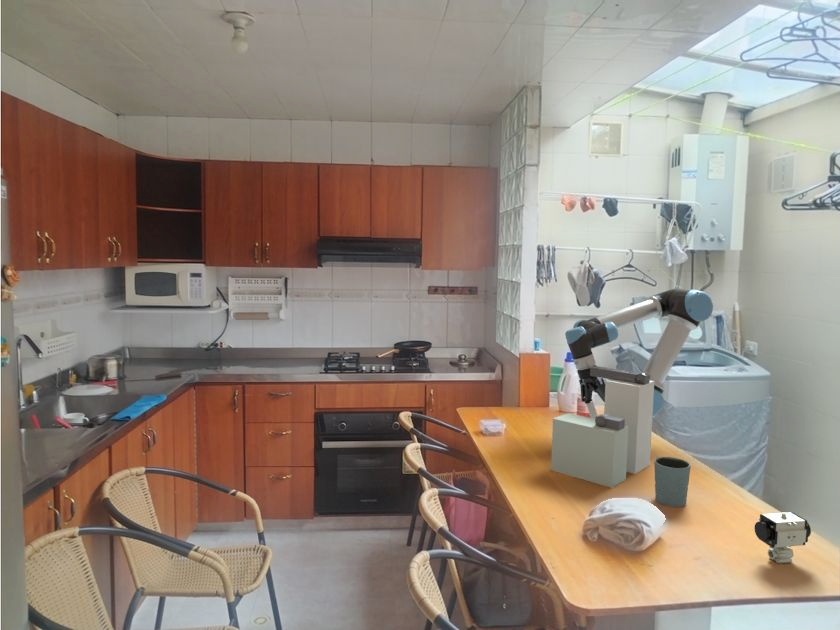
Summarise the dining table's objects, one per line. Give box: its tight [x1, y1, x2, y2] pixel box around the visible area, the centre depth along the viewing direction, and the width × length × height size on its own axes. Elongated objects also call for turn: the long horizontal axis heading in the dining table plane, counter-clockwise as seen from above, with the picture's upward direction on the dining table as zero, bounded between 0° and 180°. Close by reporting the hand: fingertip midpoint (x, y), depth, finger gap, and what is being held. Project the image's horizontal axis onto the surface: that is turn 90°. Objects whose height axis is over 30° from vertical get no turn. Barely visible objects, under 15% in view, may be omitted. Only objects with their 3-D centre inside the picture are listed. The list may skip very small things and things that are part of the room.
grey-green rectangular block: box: [550, 412, 629, 489], centre depth 198 cm, size 22×10×21 cm, turn 46°
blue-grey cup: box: [653, 456, 692, 508], centre depth 178 cm, size 10×10×12 cm
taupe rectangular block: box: [603, 379, 654, 475], centre depth 207 cm, size 12×12×30 cm
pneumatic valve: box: [754, 512, 812, 564], centre depth 144 cm, size 6×12×12 cm, turn 99°
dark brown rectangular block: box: [590, 365, 650, 385], centre depth 208 cm, size 20×5×3 cm, turn 46°
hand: (604, 420), depth 227 cm, fingers open, 13 cm apart
